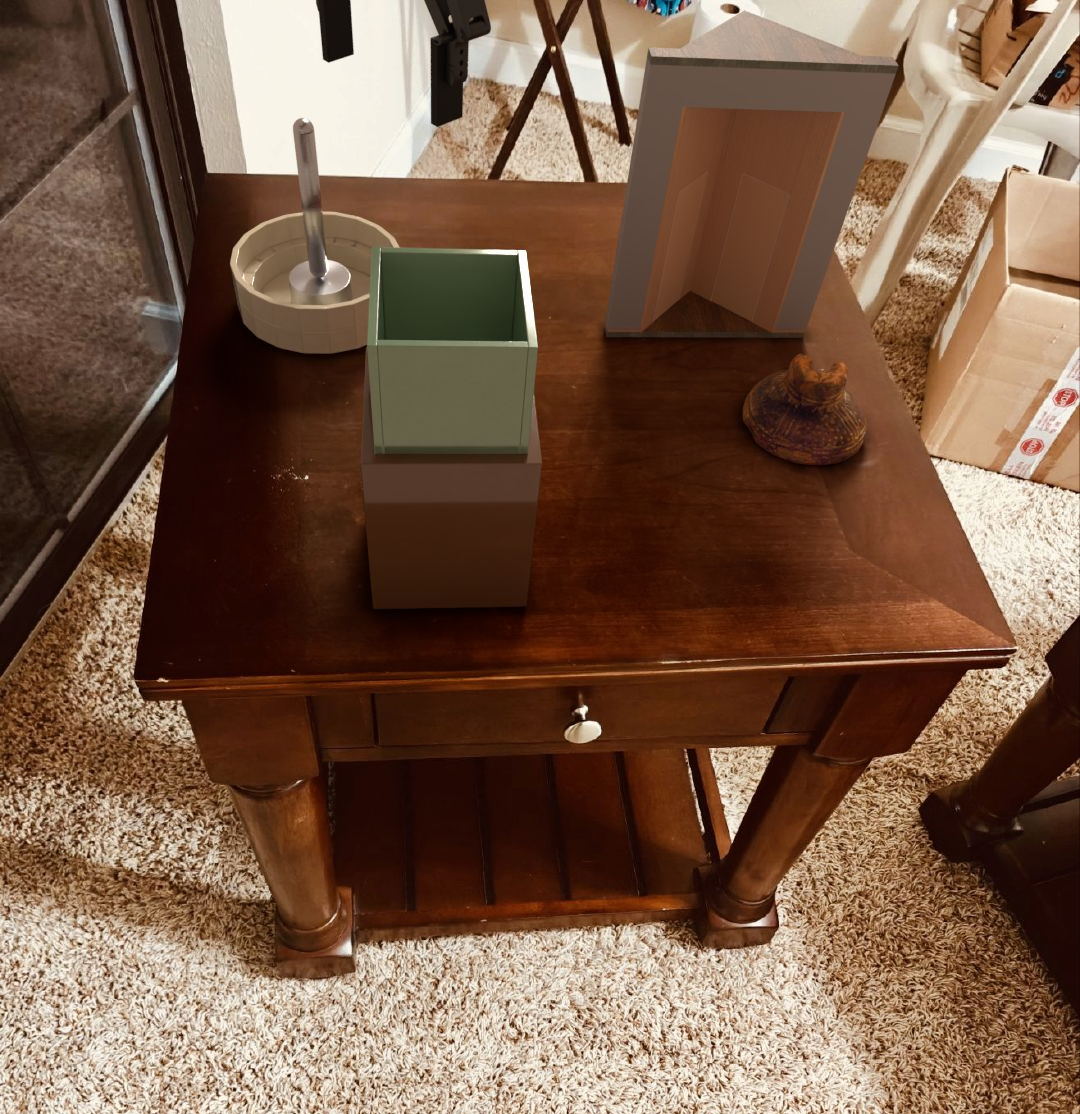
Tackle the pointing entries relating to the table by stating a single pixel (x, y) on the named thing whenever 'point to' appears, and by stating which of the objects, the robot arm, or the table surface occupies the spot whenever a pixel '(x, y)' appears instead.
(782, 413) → the bell
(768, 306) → the cabinet
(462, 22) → the robot arm
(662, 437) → the table surface
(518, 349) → the utensil holder
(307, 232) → the rod with disc base
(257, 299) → the mixing bowl
